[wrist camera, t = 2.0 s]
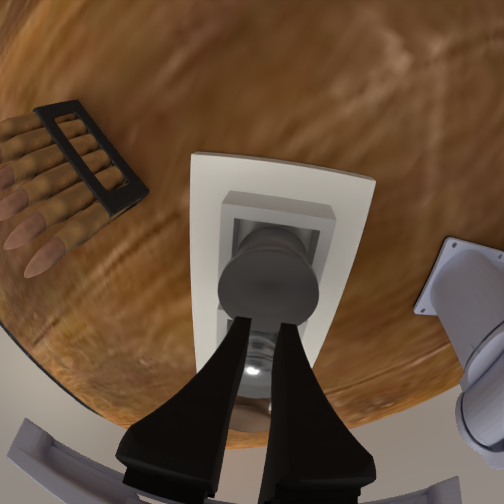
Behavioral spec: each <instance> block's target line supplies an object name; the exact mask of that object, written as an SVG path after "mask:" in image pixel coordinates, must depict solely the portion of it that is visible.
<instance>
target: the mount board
mask: <svg viewBox="0 0 504 504" xmlns="http://www.w3.org/2000/svg"><path fill="white" fill-rule="evenodd" d="M375 184H376V181H375V180H374V179H373V178H372V177H370V176H365V175H361V174H356V173H352V172H347V171H342V170H337V169H332V168H327V167H321V166H316V165H310V164H304V163H298V162H291V161H285V160H278V159H270V158H262V157H254V156H245V155H236V154H225V153H213V152H199V151H196V152H195V153H193V154H191V174H190V265H191V293H192V312H193V329H194V342H195V355H196V366H197V373H198V372H199V371H200V370H201V369H202V367H203V366H204V365H205V364H206V362H207V361H208V360H209V359H210V357H211V356H212V355H213V354H214V352H215V351H216V349H217V348H218V347H219V345H220V344H221V342H222V341H223V339H224V338H225V336H226V334H227V333H228V331H229V329H230V327H231V325H232V323H233V321H234V320H233V319H232V318H230V317H229V316H228V315H227V314H226V312H225V311H224V310H223V308H222V306H221V304H220V301H219V298H218V283H219V280H220V277H221V274H222V271H223V269H224V267H225V266H226V264H227V263H228V262H229V261H230V259H231V258H233V257H234V256H235V255H236V253H237V250H238V247H239V245H240V243H241V241H242V240H243V239H244V238H245V237H246V236H247V235H248V234H249V233H251V232H253V231H255V230H257V229H260V228H265V227H278V228H282V229H285V230H288V231H290V232H292V233H293V234H295V235H296V236H297V237H298V238H299V239H300V240H301V241H302V243H303V244H304V246H305V248H306V251H307V257H308V263H309V264H310V265H311V266H312V268H313V269H314V271H315V274H316V276H317V280H318V287H319V301H318V305H317V307H316V309H315V311H314V313H313V314H312V315H311V316H310V318H308V319H307V320H306V321H305V322H304V323H302V324H301V325H299V326H297V327H298V331H299V335H300V339H301V342H302V345H303V348H304V351H305V353H306V356H307V359H308V361H309V363H310V366H311V368H312V367H313V365H314V363H315V361H316V358H317V356H318V354H319V351H320V349H321V347H322V344H323V342H324V340H325V337H326V335H327V332H328V330H329V327H330V325H331V322H332V320H333V317H334V315H335V312H336V310H337V307H338V304H339V302H340V299H341V296H342V294H343V291H344V288H345V285H346V282H347V279H348V277H349V274H350V271H351V268H352V265H353V262H354V258H355V255H356V252H357V249H358V246H359V243H360V239H361V236H362V233H363V229H364V226H365V222H366V219H367V215H368V211H369V208H370V204H371V200H372V196H373V192H374V188H375ZM269 410H271V397H270V402H269Z"/></svg>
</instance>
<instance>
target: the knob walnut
mask: <svg viewBox="0 0 504 504" xmlns="http://www.w3.org/2000/svg"><path fill="white" fill-rule="evenodd" d="M269 402H270V397H269V398H247V397H242V396H239V395H237V396H236V400H235V403H234V407H233V410H232V414H231V419H230V424H229V429H232V430H235V431H240V432H250V433H253V432H262V431H265V430H268V429H269V428H270V423H271V415H270V414H269V413H268V412H269Z"/></svg>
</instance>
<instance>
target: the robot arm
mask: <svg viewBox="0 0 504 504" xmlns="http://www.w3.org/2000/svg"><path fill="white" fill-rule="evenodd" d="M453 243H454V245H453V246H452V244H453ZM413 310H414V313H415V314H424V315H438V317H439V319H440V321H441V323H442V325H443V327H444V329H445V331H446V333H447V335H448V337H449V340H450V342H451V344H452V346H453V348H454V350H455V353H456V355H457V357H458V359H459V362H460V364H461V366H462V369H463V371H464V375H463V377H462V378H461V379H460V380H459V383H460V385H461V388H462V391H463V392H462V393H461V394H460V396H459V397H458V400H457V402H456V409H455V415H456V423H457V427H458V430H459V433H460V435H461V437H462V438H463V440H464V441H465V442H466V443H467V444H468V445H469V446H470V447H471V448H472V449H474V450H476V451H477V452H479V453H480V454H481V455H482V456H483V458H484V459H485V461H486V462H487V464H488V466H489V467H490V468H492V469H502V470H504V251H500V250H497V249H494V248H490V247H486V246H483V245H479V244H476V243H472V242H468V241H464V240H460V239H456V238H453V237H448V238H446V239H445V241H444V244H443V246H442V249H441V251H440V253H439V256H438V258H437V260H436V263H435V265H434V267H433V270H432V272H431V274H430V276H429V278H428V280H427V282H426V285H425V287H424V289H423V291H422V293H421V295H420V297H419V299H418V301H417V302H416V304H415V306H414V309H413ZM251 321H252V318H246V317H240V316H237V317H235V318H234V321H233V323H232V325H231V327H230V329H229V331H228V333H227V334H226V336H225V338H224V339H223V341H222V342H221V344H220V345H219V347H218V348H217V349H216V351H215V352H214V354H213V355H212V356H211V357H210V359H209V360H208V361H207V362H206V364H205V365H204V366H203V367H202V369H201V370H200V371H199V372H198V373H197V374H196V375H195V376H194V377H193V378H192V379H191V380H190V381H189V382H188V383H187V384H186V385H185V386H184V387H183V388H182V389H181V390H180V391H179V392H178V393H177V394H175V395H174V396H173V397H172V398H171V399H169V400H168V401H167V402H166V403H164V404H163V405H162V406H160V407H159V408H158V409H156V410H155V411H154V412H152V413H151V414H149V415H148V416H146V417H144V418H143V419H141V420H140V421H138V422H136V423H135V424H133V425H131V426H130V427H129V429H128V430H127V432H126V433H125V435H124V436H123V438H122V440H121V441H120V444H119V447H118V449H117V452H116V455H115V456H116V458H117V459H118V460H119V461H120V462H121V463H122V464H124V465H125V466H126V467H127V470H126V472H125V474H122V473H120V472H117V471H115V470H113V469H111V468H108V467H106V466H104V465H102V464H100V463H97V462H95V461H93V460H91V459H89V458H87V457H85V456H83V455H81V454H80V453H78V452H76V451H74V450H72V449H70V448H69V447H67V446H65V445H63V444H62V443H60V442H58V441H56V440H55V439H54V438H53V437H52V436H50V434H48V433H47V432H46V431H44V430H43V429H42V428H40V427H38V426H37V425H36V424H34V423H33V422H31V421H30V420H29V419H27V418H25V419H24V421H23V423H22V425H21V427H20V429H19V431H18V433H17V435H16V437H15V439H14V441H13V443H12V445H11V447H10V449H9V451H8V453H7V458H8V459H9V460H10V461H12V462H13V463H14V464H15V465H16V466H17V467H18V468H20V469H21V470H22V471H23V472H25V473H26V474H27V475H28V476H29V477H31V478H32V479H33V480H34V481H36V482H37V483H38V484H39V485H41V486H42V487H43V488H44V489H46V490H47V491H49V492H50V493H51V494H52V495H54V496H55V497H57V498H58V499H59V500H61V501H62V502H64V503H65V504H151V503H148V502H145V501H142V500H140V498H139V496H138V495H137V494H139V495H142V496H145V497H148V498H151V499H154V500H157V501H160V502H163V503H167V504H235V503H228V502H222V501H216V500H210V499H207V498H208V497H210V498H214V496H215V493H216V492H217V490H218V484H219V479H220V473H221V468H222V462H223V457H224V451H225V446H226V440H227V435H228V429H229V424H230V419H231V414H232V410H233V407H234V403H235V400H236V396H237V393H238V389H239V386H240V382H241V379H242V375H243V372H244V367H245V361H246V355H247V349H248V342H249V335H250V328H251ZM375 480H376V469H375V464H374V459H373V456H372V455H371V454H369V452H367V450H366V449H365V448H364V447H363V446H362V445H361V444H360V443H359V442H358V441H357V440H356V438H355V437H354V436H353V435H352V434H351V433H350V431H349V430H348V429H347V428H346V426H345V425H344V423H343V422H342V421H341V419H340V418H339V417H338V415H337V414H336V412H335V411H334V409H333V408H332V406H331V405H330V403H329V401H328V400H327V398H326V396H325V395H324V393H323V391H322V389H321V387H320V385H319V383H318V381H317V379H316V377H315V375H314V373H313V371H312V368H311V366H310V363H309V361H308V359H307V356H306V353H305V351H304V348H303V345H302V342H301V339H300V335H299V331H298V327H297V325H296V324H289V323H281V326H280V330H279V334H278V338H277V342H276V346H275V350H274V355H273V363H272V372H271V423H270V431H269V439H268V446H267V454H266V460H265V466H264V473H263V478H262V483H261V489H260V494H259V499H258V504H462V501H461V491H460V484H459V478H458V476H455V477H453V478H450V479H447V480H445V481H442V482H439V483H436V484H434V485H432V486H430V487H428V488H426V489H423V490H419V491H416V492H412V493H409V494H405V495H401V496H397V497H392V498H387V499H383V500H377V501H371V502H365V503H358V496H360V495H361V487H364V486H366V485H368V484H370V483H372V482H374V481H375Z"/></svg>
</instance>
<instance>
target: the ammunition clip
mask: <svg viewBox="0 0 504 504" xmlns="http://www.w3.org/2000/svg"><path fill="white" fill-rule="evenodd" d="M15 161H16V162H15ZM9 162H14V163H12V164H10V165H8V166H7V167H5V168H3V169H1V170H0V192H1V191H3V190H5V189H7V188H9V187H11V186H14V185H16V184H18V183H21V182H25V181H29V180H31V181H30V182H29V183H27V184H25V185H24V186H22V187H20V188H19V189H18V190H16V191H14V192H13V193H11V194H9V195H8V196H7V197H5V198H4V199H3V200H1V201H0V221H1V220H4V219H7V218H9V217H11V216H13V215H15V214H17V213H19V212H21V211H23V210H24V209H26V208H29V207H30V206H32V205H34V204H36V203H39V202H42V201H45V200H48V199H50V198H51V197H52V198H51V199H50V200H49V201H48V202H47V203H46V204H45V205H44V206H42V207H41V208H39V209H38V210H37V211H35V213H33V214H32V215H30V216H29V217H27V218H26V219H25V220H24V221H23V222H21V223H20V224H19V225H18V226H17V227H16V228H15V229H14V230H13V232H12V233H11V234H10V236H9V237H8V239H7V240H6V242H5V244H4V249H5V250H9V249H14V248H17V247H19V246H22V245H24V244H26V243H28V242H30V241H31V240H33V239H35V238H36V237H38V236H39V235H40V234H42V233H43V232H46V231H47V230H49V229H50V228H52V227H53V226H55V225H58V224H61V223H63V222H64V221H66V220H67V219H69V218H70V217H72V216H73V215H75V214H76V213H78V212H79V211H81V210H82V212H80V213H79V214H78V215H76V216H75V217H73V218H72V219H71V220H69V221H68V222H67V223H66V224H65V225H64V226H63V228H62V229H61V230H60V231H59V232H58V233H57V234H55V235H54V236H53V237H52V238H51V239H50V240H49V241H48V242H47V243H45V244H44V245H43V246H42V247H41V248H40V250H39V251H38V252H37V253H36V254H35V255H34V257H33V258H32V259H31V261H30V262H29V264H28V266H27V268H26V270H25V273H24V276H25V278H30V277H33V276H36V275H38V274H40V273H42V272H44V271H45V270H47V269H48V268H50V267H51V266H53V265H54V264H55V263H57V262H58V261H59V260H60V259H61V258H62V257H64V256H65V255H67V254H68V253H69V252H70V251H72V250H73V249H75V248H77V247H79V246H81V245H82V244H84V243H85V242H86V241H87V240H89V239H90V238H91V237H92V236H93V235H95V234H96V233H97V232H98V231H99V230H101V229H102V228H103V227H105V226H106V225H107V224H109V223H110V222H112V221H113V220H115V219H116V218H118V217H119V216H121V215H122V214H123V213H125V212H126V211H128V210H129V209H131V208H133V207H134V206H136V205H137V204H138V203H139V202H140V201H141V200H142V199H143V198H144V197H145V196H146V195H147V194H148V193H149V190H148V189H147V188H146V186H145V185H144V184H143V183H142V182H141V180H140V179H139V178H138V177H137V175H136V174H135V173H134V172H133V170H132V169H131V168H130V167H129V166H128V164H127V163H126V162H125V161H124V159H123V158H122V157H121V156H120V154H119V153H118V152H117V150H116V149H115V148H114V147H113V145H112V144H111V143H110V142H109V140H108V139H107V138H106V136H105V135H104V134H103V133H102V131H101V130H100V129H99V127H98V126H97V125H96V124H95V122H94V121H93V120H92V118H91V117H90V116H89V114H88V113H87V112H86V110H85V109H84V108H83V106H82V105H81V104H80V102H79V101H78V100H71V101H66V102H60V103H55V104H50V105H45V106H41V107H36V108H34V110H33V112H32V113H28V114H24V115H20V116H16V117H12V118H8V119H5V120H3V121H2V122H0V166H1V165H4V164H6V163H9ZM62 191H63V192H62ZM60 192H61V193H60ZM58 193H59V194H58ZM55 195H56V196H55ZM53 196H54V197H53ZM96 200H98V201H97V202H95V201H96ZM93 202H95V203H94V204H92V203H93Z"/></svg>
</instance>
